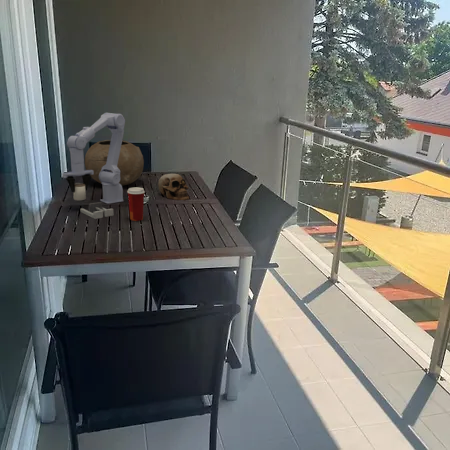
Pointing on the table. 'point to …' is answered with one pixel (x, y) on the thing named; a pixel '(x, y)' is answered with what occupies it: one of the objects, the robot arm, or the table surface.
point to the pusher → (95, 207)
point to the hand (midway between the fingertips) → (79, 191)
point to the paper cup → (136, 203)
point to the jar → (79, 191)
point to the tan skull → (173, 187)
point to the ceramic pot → (127, 162)
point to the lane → (98, 213)
